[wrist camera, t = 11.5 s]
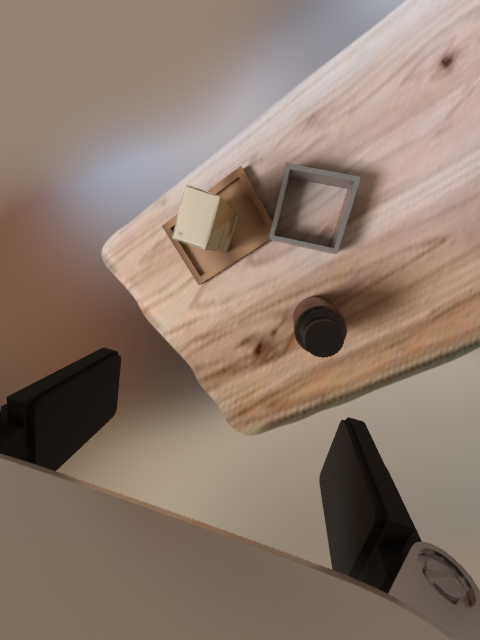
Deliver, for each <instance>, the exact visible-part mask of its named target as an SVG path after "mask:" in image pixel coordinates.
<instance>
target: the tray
mask: <svg viewBox="0 0 480 640" xmlns="http://www.w3.org/2000/svg"><path fill="white" fill-rule="evenodd" d="M208 192H210V193H212V194H215V195H218V196H220V197H221V198H222V199H223V200H224V201H225V202H226V203H227V204H228V205H229V206H230V207H231V208H232V209H233V210H234V211H235V212H236V213H237V214H238V215H239V216H238V220H237V223H236V227H235V230H234V234H233V237H232V240H231V243H230V245H229V248H228V251H227V253H224V252H217V251H210V250H204V249H200V248H197V247H194V246H191V245H189V244H186V243H183V242H181V241H178V240H176V239H173V238H172V236H173V233H174V229H175V224H176V221H177V216H178V214H177V215H176V216H174V217H173V218H172V219H170V220H169V221H168V222H167V223H165V224H164V225H163V226H162V227H163V229H164V230H165V232H166V233H167V235H168V237H169V238H170V240H171V241H172V243H173V245H174V246H175V248H176V249H177V251H178V253H179V254H180V256H181V257H182V259H183V261H184V262H185V264H186V265H187V267H188V269H189V270H190V272H191V273H192V275H193V277H194V278H195V280H196V281H197V283H198V285H200V284H202V283H204V282H205V281H207V280H209V279H210V278H212V277H213V276H215V275H216V274H218V273H219V272H221V271H223V270H224V269H226V268H227V267H229V266H230V265H232V264H233V263H235V262H237V261H238V260H240V259H241V258H243V257H244V256H246V255H247V254H249V253H251V252H252V251H254V250H255V249H257V248H258V247H260V246H262V245H263V244H265V243H266V242H268V241H269V240H270V239H269V236H270V232H271V227H272V223H273V222H272V220H271V218H270V216H269V214H268V213H267V211H266V209H265V207H264V206H263V204H262V202H261V200H260V198H259V197H258V195H257V193H256V191H255V190H254V188H253V186H252V184H251V182H250V181H249V179H248V177H247V175H246V173H245V172H244V170H243V168H242V166H240V167H239V168H238V169H236V170H235V171H234V172H232V173H231V174H230V175H228V176H227V177H226V178H224V179H223V180H222V181H220V182H219V183H218V184H217V185H215V186H214V187H213V188H211V189H210V190H209V191H208ZM277 235H279V232H278V230H277V229H276V233H275V236H277Z"/></svg>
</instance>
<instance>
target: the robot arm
mask: <svg viewBox="0 0 480 640" xmlns="http://www.w3.org/2000/svg"><path fill="white" fill-rule="evenodd" d="M120 365H121V357H120V356H119V355H118V352H117V351H114V350H111V349H107V348H102V349H99V350H97V351H95V352H93V353H91V354H89V355H88V356H86V357H84V358H82V359H80V360H78V361H76V362H74V363H72V364H70V365H68V366H66V367H64V368H62V369H60V370H58V371H56V372H54V373H53V374H50V375H49V376H47V377H45V378H43V379H41V380H39V381H37V382H35V383H33V384H31V385H29V386H27V387H25V388H23V389H21V390H19V391H17V392H15V393H13V394H12V395H10V396H8V397H7V404H5V405H3V406H0V640H480V590H479V588H478V587H477V585H476V584H475V582H474V581H473V579H472V577H471V576H470V575H469V574H468V573H467V572H466V570H465V569H464V568H463V567H462V566H461V565H460V564H459V563H458V562H457V561H456V560H455V559H454V558H453V557H452V556H450V555H449V554H448V553H446V552H445V551H443V550H442V549H440V548H439V547H437V546H435V545H433V544H430V543H426V542H422V541H421V539H420V537H419V535H418V533H417V530H416V528H415V526H414V524H413V522H412V520H411V518H410V516H409V514H408V512H407V509H406V507H405V505H404V503H403V501H402V499H401V497H400V495H399V492H398V490H397V488H396V486H395V484H394V482H393V480H392V478H391V476H390V473H389V471H388V470H387V468H386V466H385V465H384V463H383V461H382V458H381V456H380V454H379V452H378V450H377V448H376V446H375V443H374V441H373V439H372V437H371V435H370V433H369V431H368V429H367V427H366V424H365V423H364V422H363V421H359V420H356V419H352V418H347V419H346V420H341V422H340V424H339V427H338V429H337V432H336V435H335V437H334V439H333V442H332V445H331V447H330V450H329V452H328V455H327V458H326V460H325V463H324V466H323V468H322V470H321V473H320V489H321V496H322V503H323V509H324V516H325V522H326V529H327V536H328V543H329V549H330V556H331V563H332V569H329V568H326V567H323V566H321V565H318V564H316V563H313V562H310V561H308V560H305V559H303V558H300V557H297V556H295V555H292V554H289V553H287V552H284V551H281V550H278V549H275V548H273V547H269V546H267V545H264V544H261V543H259V542H256V541H253V540H250V539H248V538H244V537H242V536H239V535H236V534H234V533H231V532H228V531H225V530H222V529H220V528H217V527H214V526H211V525H208V524H206V523H203V522H200V521H197V520H194V519H191V518H188V517H186V516H183V515H180V514H177V513H174V512H171V511H169V510H166V509H163V508H160V507H157V506H154V505H152V504H149V503H145V502H143V501H140V500H137V499H134V498H132V497H128V496H126V495H123V494H120V493H117V492H114V491H111V490H108V489H106V488H103V487H100V486H97V485H94V484H91V483H88V482H85V481H82V480H79V479H76V478H74V477H71V476H68V475H65V474H62V473H59V472H56V470H57V469H59V468H60V467H61V466H62V465H63V464H64V463H65V462H66V461H67V460H68V459H69V458H70V457H71V456H72V455H73V454H74V453H75V452H76V451H77V450H79V449H80V448H81V447H82V446H83V445H84V444H85V443H86V442H87V441H88V440H89V439H90V438H91V437H92V436H93V435H95V434H96V433H97V432H98V431H99V430H100V429H101V428H102V427H103V426H104V425H105V424H106V423H107V422H108V421H109V420H110V419H111V418H112V417H113V416H114V415H115V413H116V409H117V400H118V389H119V376H120Z"/></svg>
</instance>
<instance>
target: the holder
mask: <svg viewBox="0 0 480 640" xmlns="http://www.w3.org/2000/svg"><path fill="white" fill-rule="evenodd" d="M289 178H294V179H299V180H305V181H310V182H315V183H320V184H326V185H331V186H336V187H341V188H347V193H346V196H345V199H344V203H343V206H342V209H341V213H340V216H339V219H338V222H337V226H336V229H335V232H334V236H333V239H332V242H331V246H330V247H326V246H321V245H316V244H312V243H307V242H303V241H298V240H293V239H289V238H284V237H279V236H275V233H276V229H277V227H278V223H279V219H280V214H281V210H282V206H283V202H284V198H285V194H286V190H287V185H288V181H289ZM360 180H361V177H360V176H354V175H349V174H343V173H338V172H332V171H327V170H321V169H316V168H311V167H305V166H300V165H294V164H289V163H286V168H285V172H284V176H283V180H282V185H281V189H280V193H279V197H278V202H277V206H276V210H275V214H274V219H273V223H272V227H271V232H270V236H269V239H270V240H272V241H276V242H281V243H285V244H290V245H295V246H299V247H304V248H308V249H313V250H317V251H322V252H327V253H331V254H337V253H338V250H339V247H340V243H341V240H342V237H343V234H344V231H345V228H346V224H347V221H348V218H349V215H350V212H351V208H352V205H353V202H354V199H355V196H356V192H357V189H358V186H359V183H360Z"/></svg>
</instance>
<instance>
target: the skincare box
mask: <svg viewBox="0 0 480 640" xmlns="http://www.w3.org/2000/svg"><path fill="white" fill-rule="evenodd" d="M238 216H239V215H238V214H237V213H236V212H235V211H234V210H233V209H232V208H231V207H230V206H229V205H228V204H227V203H226V202H225V201H224V200H223V199H222V198H221V197H220V196H218V195H215V194H212V193H210V192H208V191H205V190H202V189H200V188H197V187H194V186H191V185H189V184H187V185H186V186H185V189H184V193H183V197H182V201H181V205H180V208H179V212H178V216H177V221H176V224H175V229H174V233H173V236H172V238H173V239H176V240H178V241H181V242H183V243H186V244H189V245H191V246H194V247H197V248H200V249H204V250H210V251H217V252H224V253H227V251H228V248H229V245H230V243H231V240H232V237H233V234H234V230H235V227H236V223H237V220H238Z"/></svg>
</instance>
